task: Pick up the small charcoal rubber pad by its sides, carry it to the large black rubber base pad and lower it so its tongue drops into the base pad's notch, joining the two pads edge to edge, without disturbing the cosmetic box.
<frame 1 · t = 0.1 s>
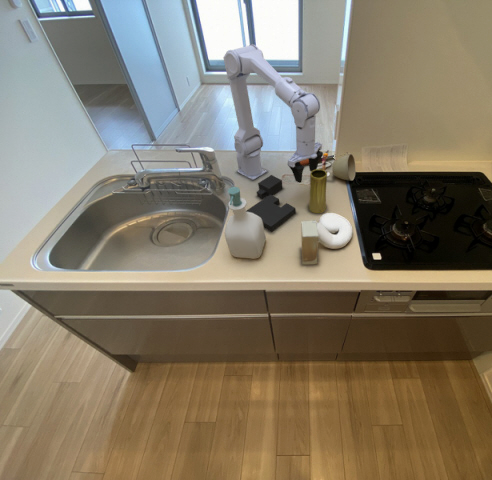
hand: (305, 176, 95), 10 cm above the worktop, tool pointing down, fingers open, 7 cm apart
knife: (326, 159, 118), point 2 cm above the worktop
soap: (320, 168, 118), on the worktop, touching action figure
base pad: (271, 215, 97), on the worktop
vase: (317, 208, 99), on the worktop
cosmetic box: (309, 257, 84), on the worktop
soap bottle: (249, 248, 86), on the worktop
cup: (333, 168, 111), point 3 cm above the worktop
sculpture: (332, 234, 90), on the worktop
pad: (271, 190, 106), on the worktop
action figure: (324, 173, 114), on the worktop, touching soap
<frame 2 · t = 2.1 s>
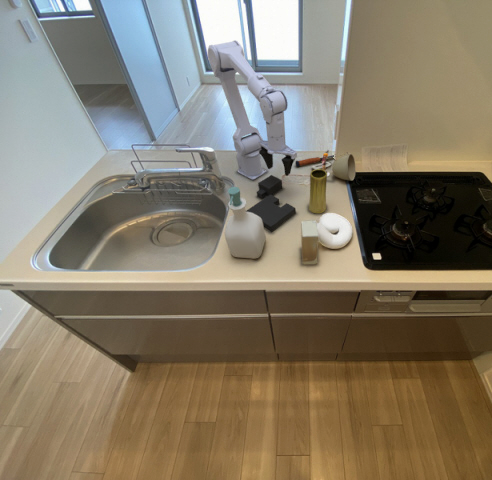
hand: (279, 171, 98), 10 cm above the worktop, tool pointing down, fingers open, 7 cm apart
nothing on the worktop moved.
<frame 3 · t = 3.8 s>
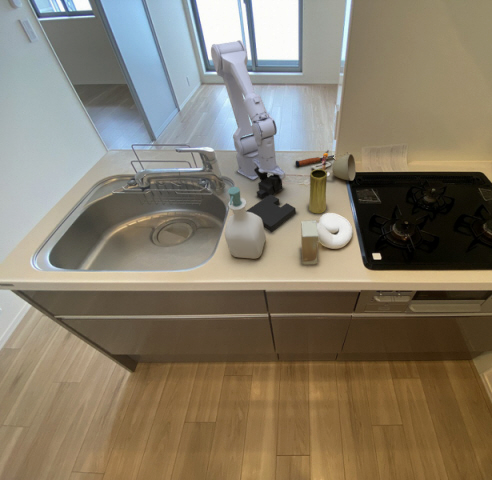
hand: (270, 187, 105), 1 cm above the worktop, tool pointing down, fingers closed on pad, 5 cm apart
pad: (271, 190, 106), on the worktop, touching gripper
everything else where it was.
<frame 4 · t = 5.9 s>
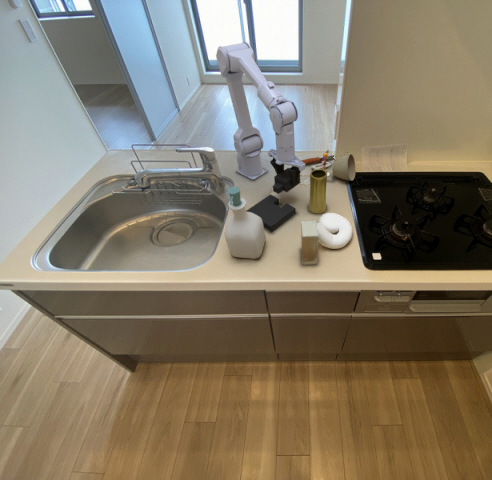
hand: (287, 181, 96), 8 cm above the worktop, tool pointing down, fingers closed on pad, 5 cm apart
pad: (287, 184, 97), point 7 cm above the worktop, touching gripper
everything else where it was.
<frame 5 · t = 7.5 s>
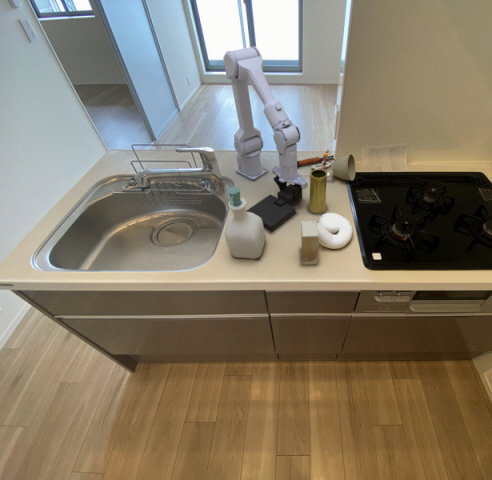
hand: (290, 196, 100), 2 cm above the worktop, tool pointing down, fingers closed on pad, 5 cm apart
pad: (290, 199, 101), point 1 cm above the worktop, touching gripper
everything else where it was.
when the fingers open (1 cm above the worktop, at t = 8.2 s): pad stays where it is, on the worktop.
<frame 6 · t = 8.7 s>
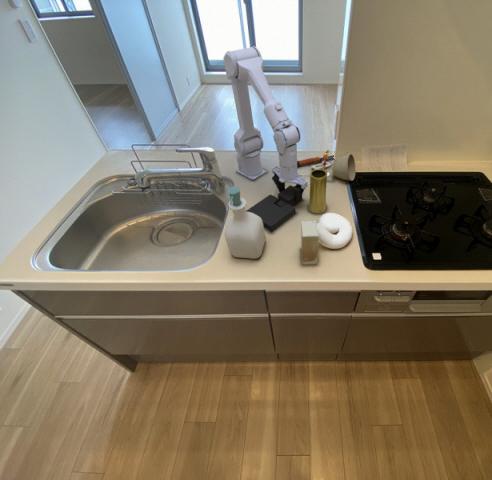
hand: (290, 196, 100), 2 cm above the worktop, tool pointing down, fingers open, 7 cm apart
pad: (290, 201, 102), on the worktop
everything else where it was.
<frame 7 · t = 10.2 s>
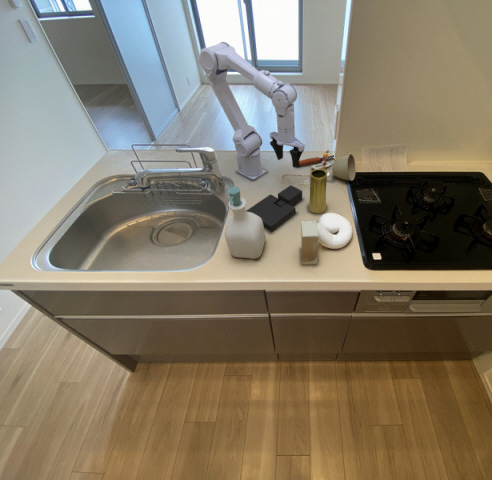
hand: (287, 162, 103), 9 cm above the worktop, tool pointing down, fingers open, 7 cm apart
nothing on the worktop moved.
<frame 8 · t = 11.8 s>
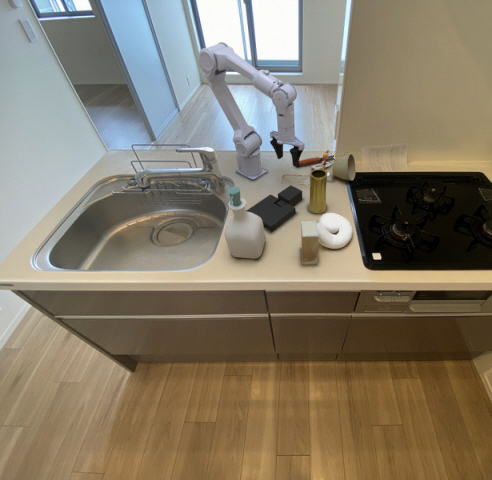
hand: (287, 161, 103), 9 cm above the worktop, tool pointing down, fingers open, 7 cm apart
nothing on the worktop moved.
at the end: pad 0.1 cm from the target spot on the worktop beside the base pad, on the worktop; pad tilted 0°; cosmetic box moved 0.4 cm from its start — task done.
